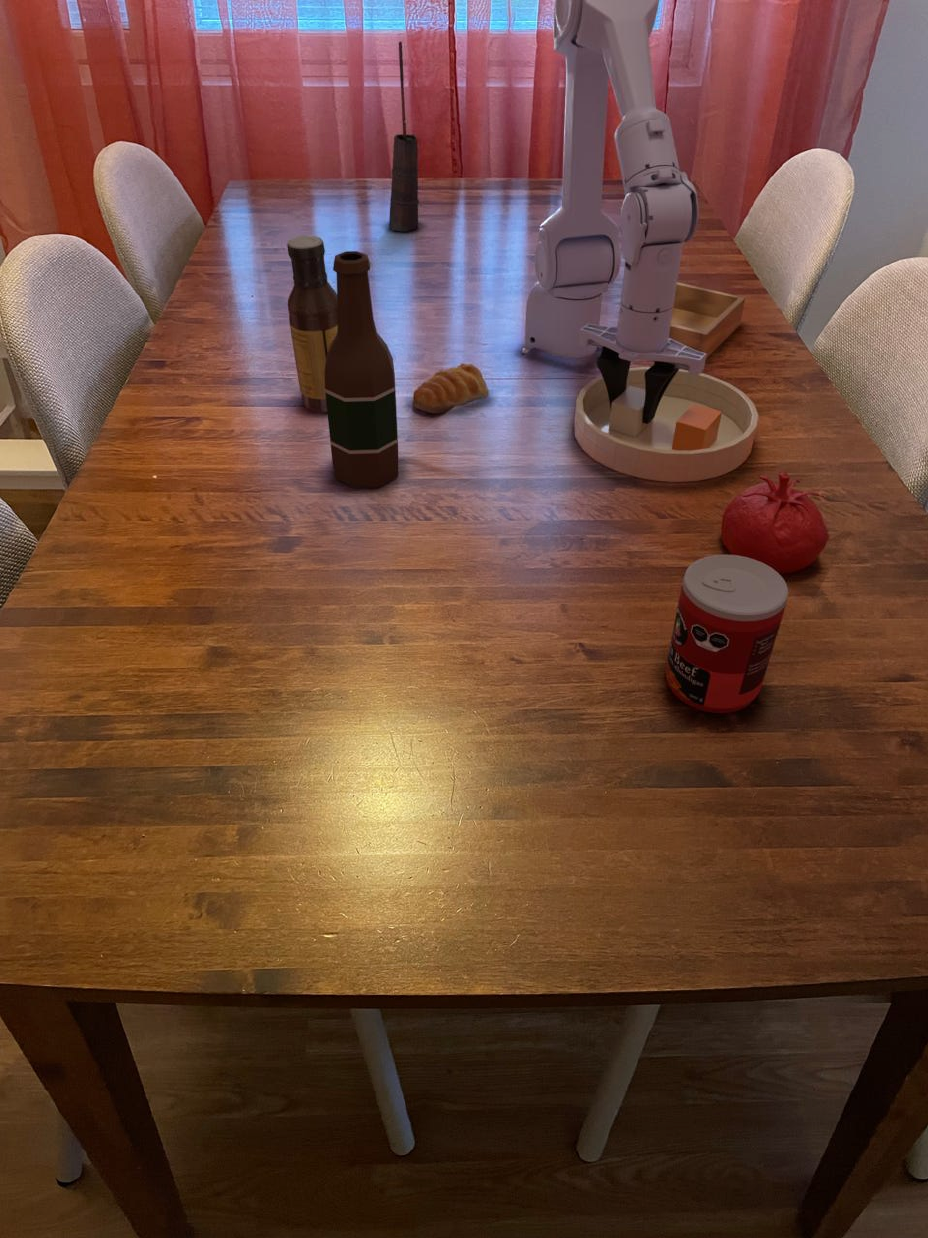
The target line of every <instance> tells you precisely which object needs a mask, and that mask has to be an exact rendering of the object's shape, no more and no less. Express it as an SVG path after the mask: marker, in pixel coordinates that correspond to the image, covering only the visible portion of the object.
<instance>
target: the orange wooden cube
mask: <svg viewBox="0 0 928 1238" xmlns="http://www.w3.org/2000/svg"><path fill="white" fill-rule="evenodd" d="M721 415H722V411H719V410H715V409H711V408H708V407H704V406H701V405H697V404H692V406H691V407H690V408H689V409H688V410H687V411H686V412H685V413H684V414H683V415H682V416H681V417H680V418H679V419H678V420H677V421H676V426H675V432H674V438H673V444H672V449H675V450H682V451H691V450H699V449H708V448H709V447H710V446H711V444H712V443H713V442H714V441H715V440H716V439H717V435H718V430H719V425H720V420H721Z"/></svg>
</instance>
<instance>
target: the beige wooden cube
mask: <svg viewBox="0 0 928 1238" xmlns="http://www.w3.org/2000/svg"><path fill="white" fill-rule="evenodd" d="M644 402H645V390H644V389H641V388H637V387H633V386H629V387H628V388H627V389H626V390H625V391H624V392H623V393H622V394H621V395H620V396H618V397H617V398H616V399H615V400H614V401H613V402H612V406H611V414H610V423H609V429H610V430H613V431H617V432H620V433H623V434H627V435H630V436H633V437H636V436H637V435H638V434H639V433H640V432H641V431H642V430H643V429H644V428H645V427H646V426H647V425H648V424H649V423H650V422H651V421H652V420H653V419H652V420H651V421H650V422H649V423H648V424H645V423H642V419H643V408H644Z"/></svg>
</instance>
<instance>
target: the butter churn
mask: <svg viewBox="0 0 928 1238" xmlns="http://www.w3.org/2000/svg"><path fill="white" fill-rule="evenodd" d="M403 58H404V57H403V42H402V41H401V40H400V41H399V42H398V59H399V60H398V61H399V80H400V95H401V98H400V99H401V120H402V121H401V122H402V134H401V133H400V134H399V133H397V134H395V135H394V137H393V152H392V168H391V189H390V203H389V216H388V217H389V218H388V219H389V220H388V227H390V229H391V231H396V232H403V233H404V232H405V233H407V232H410V231H412V230H416V229H417V228H419V203H420V201H419V200H420V199H419V154H418V153H419V151H418V150H419V147H418V141H419V140H418V137H417V136H416V134H414V133H413V134H409V133H408V134H407V123H406V120H407V118H406V107H405V105H406V104H405V103H406V102H405V87H404V86H405V84H404V80H405V79H404V61H403V60H404V59H403Z"/></svg>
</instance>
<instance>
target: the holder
mask: <svg viewBox="0 0 928 1238" xmlns="http://www.w3.org/2000/svg"><path fill="white" fill-rule="evenodd" d="M745 302H746V297H744V296H740V295H736V294H732V293H726V292H722V291H719V290H714V289H709V288H704V287H700V286H696V285H692V284H687V283H683V282H678V281H677V287H676V294H675V300H674V306H673V313H672V319H671V326H670V332H669V338H670V339H672V340H674V341H677V342H679V343H681V344H683V345H685V346H687V347H689V348H692V349H694V350H697V351H699V352H703V353H706V354H707V355H706V360H707V359H708V358H709V357H710V356H711V355H712V354H713V353H714V352H715V351H716V350H717V349H718V348H719V347H721V345H722V344H723V343H724V342H725V341H726V340H727V339H728V338H729V337H730V336H731V335H732V334H733V333H734V332H735V331H736V330H737V329H738V328H739V327H740V326H741V322H742V319H743V312H744V308H745V307H744V306H745Z"/></svg>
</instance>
